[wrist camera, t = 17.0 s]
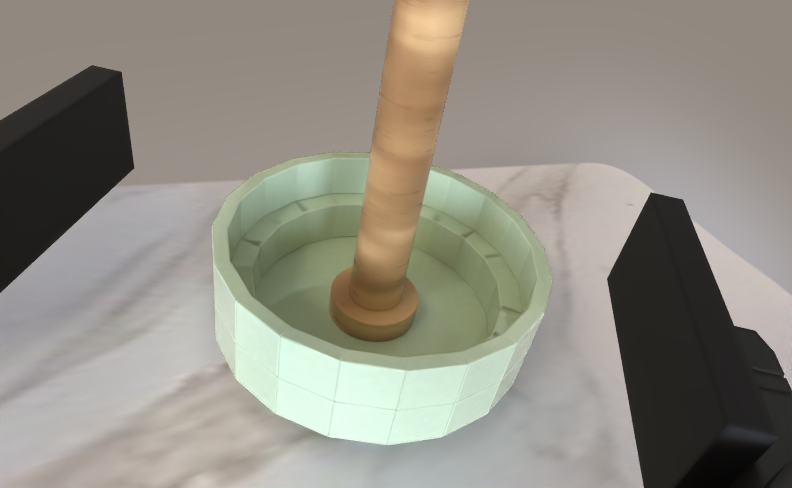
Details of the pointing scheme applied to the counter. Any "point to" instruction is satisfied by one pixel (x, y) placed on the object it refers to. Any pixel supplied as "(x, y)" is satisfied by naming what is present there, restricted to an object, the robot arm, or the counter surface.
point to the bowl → (364, 360)
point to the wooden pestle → (399, 169)
